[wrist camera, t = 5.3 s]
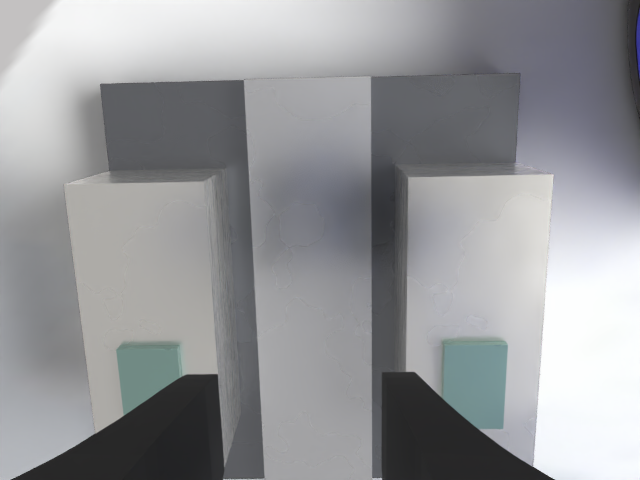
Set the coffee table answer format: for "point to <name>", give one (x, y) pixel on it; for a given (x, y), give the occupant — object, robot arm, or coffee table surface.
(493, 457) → the robot arm
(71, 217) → the rail plate
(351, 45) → the coffee table surface
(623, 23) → the coffee table surface
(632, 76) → the leaning round-cornered charcoal block
